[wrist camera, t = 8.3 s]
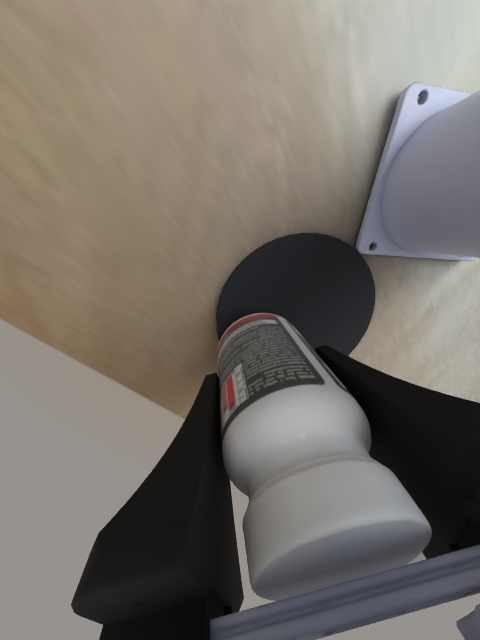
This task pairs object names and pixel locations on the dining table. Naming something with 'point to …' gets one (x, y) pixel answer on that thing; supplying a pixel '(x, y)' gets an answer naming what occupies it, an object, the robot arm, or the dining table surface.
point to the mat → (304, 289)
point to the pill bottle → (306, 467)
